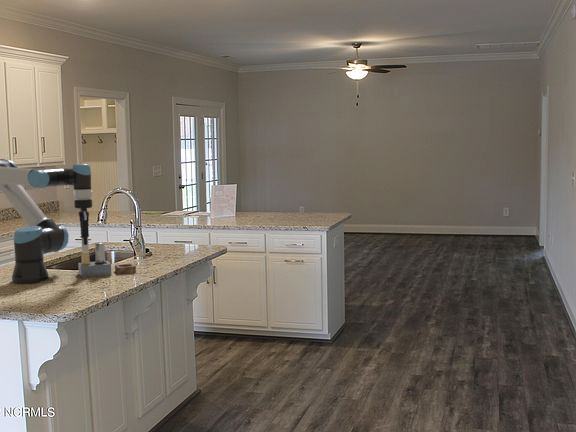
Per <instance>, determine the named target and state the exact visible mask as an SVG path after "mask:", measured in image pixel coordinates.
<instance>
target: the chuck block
mask: <svg viewBox="0 0 576 432" xmlns="http://www.w3.org/2000/svg"><path fill="white" fill-rule="evenodd" d="M77 265H78V275H79V276H80V278H81V279H84V278H97V277H108V276H109V277H110V276H112V274H113V273H112V263H110V262H109V260H105V264H96V261H90V265H82V262H78V264H77Z"/></svg>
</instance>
